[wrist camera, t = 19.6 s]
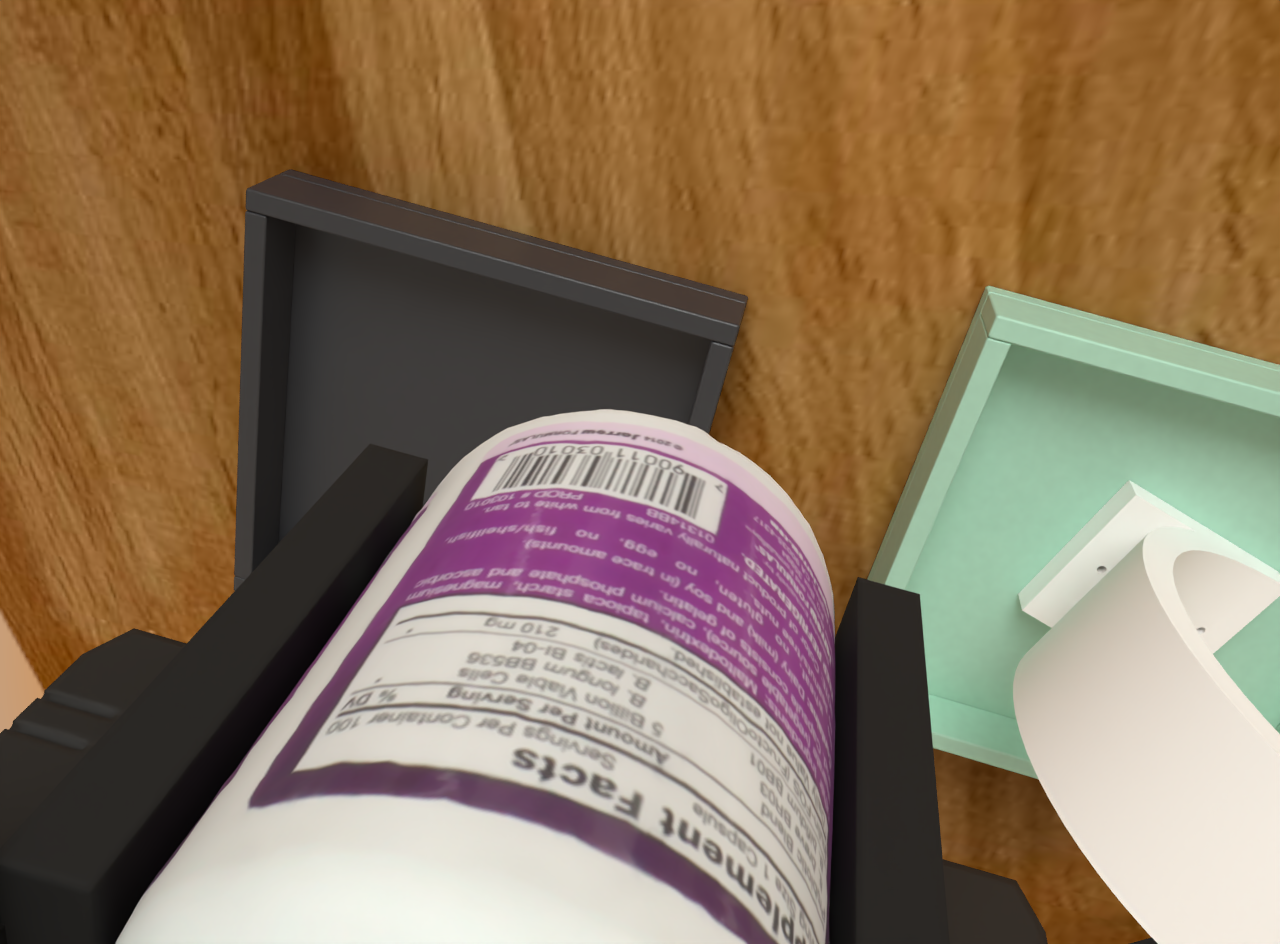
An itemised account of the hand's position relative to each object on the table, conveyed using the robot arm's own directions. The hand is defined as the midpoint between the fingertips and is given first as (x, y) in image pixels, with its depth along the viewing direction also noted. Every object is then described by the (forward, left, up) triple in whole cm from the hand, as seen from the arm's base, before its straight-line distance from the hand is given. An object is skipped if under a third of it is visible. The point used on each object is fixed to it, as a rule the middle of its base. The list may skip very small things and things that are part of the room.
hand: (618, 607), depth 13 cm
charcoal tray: (+8, -6, -17) cm, 19 cm away
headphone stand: (+6, +13, -16) cm, 22 cm away
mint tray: (+6, +13, -17) cm, 22 cm away
